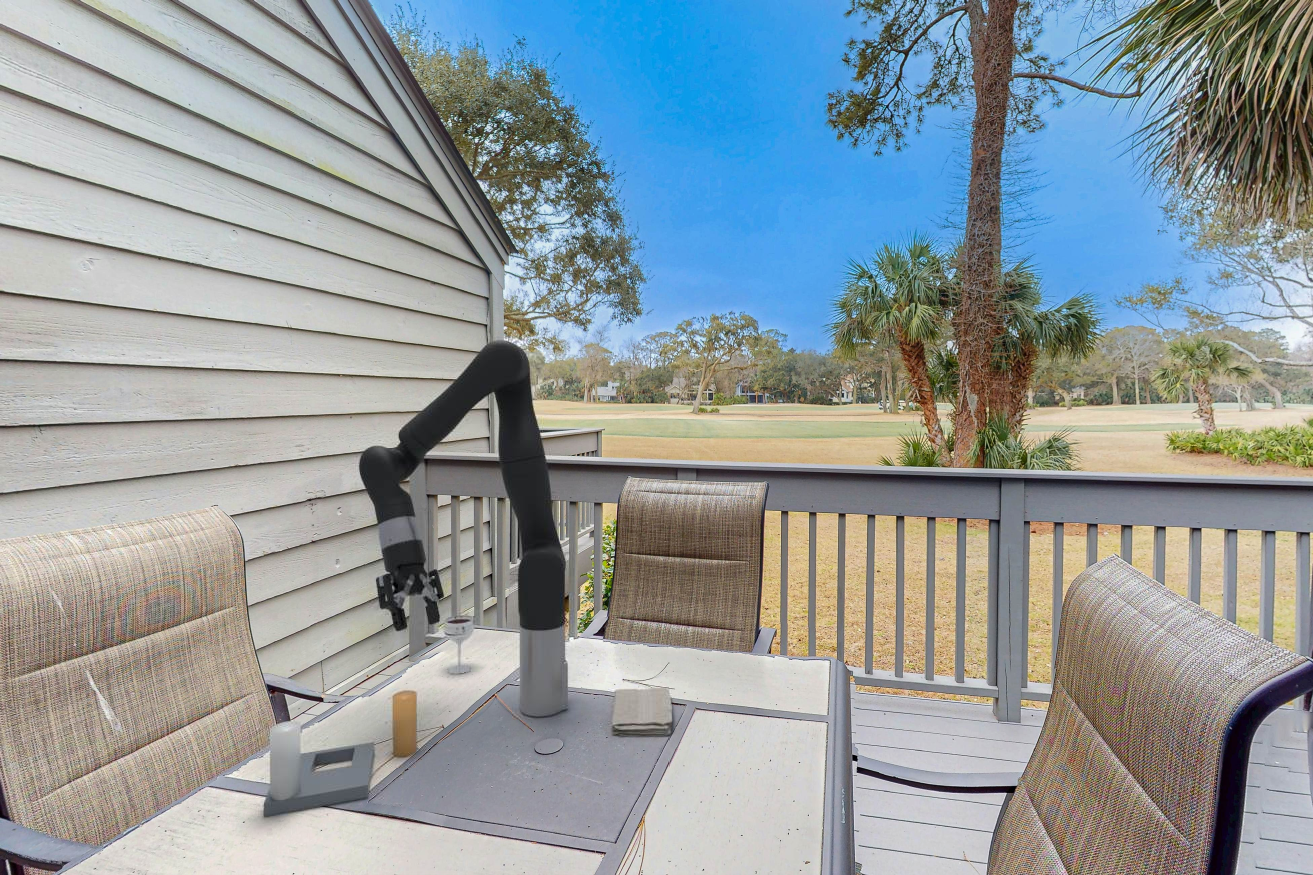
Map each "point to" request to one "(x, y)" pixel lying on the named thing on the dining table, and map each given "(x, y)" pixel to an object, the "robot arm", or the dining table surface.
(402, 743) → the orange cylinder
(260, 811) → the dining table surface
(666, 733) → the washcloth
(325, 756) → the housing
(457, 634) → the wineglass
